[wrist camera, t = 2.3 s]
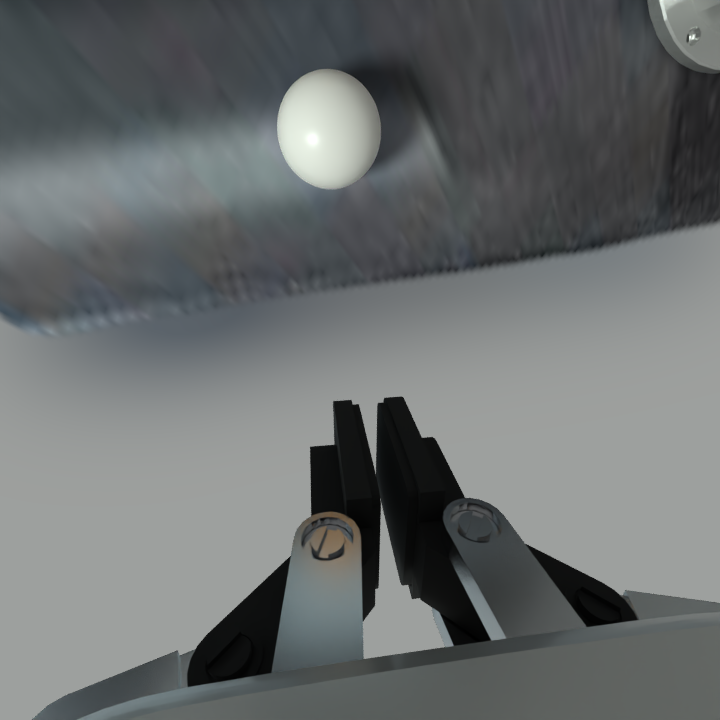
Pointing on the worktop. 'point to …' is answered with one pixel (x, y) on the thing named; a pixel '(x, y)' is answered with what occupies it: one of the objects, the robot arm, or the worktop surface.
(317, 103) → the cue ball
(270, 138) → the worktop surface
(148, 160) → the worktop surface
